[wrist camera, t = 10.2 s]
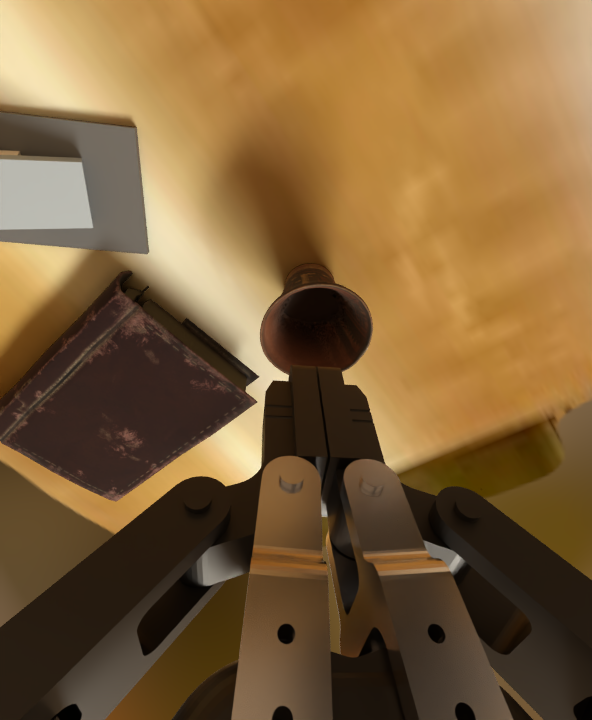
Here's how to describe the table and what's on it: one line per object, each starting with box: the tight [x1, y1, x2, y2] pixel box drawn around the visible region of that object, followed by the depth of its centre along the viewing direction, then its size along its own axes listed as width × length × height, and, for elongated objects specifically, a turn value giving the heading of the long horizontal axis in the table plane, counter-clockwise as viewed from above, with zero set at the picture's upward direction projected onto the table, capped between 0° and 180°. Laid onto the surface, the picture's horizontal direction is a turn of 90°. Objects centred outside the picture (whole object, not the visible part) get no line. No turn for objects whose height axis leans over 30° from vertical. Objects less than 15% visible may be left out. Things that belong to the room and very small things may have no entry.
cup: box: [260, 264, 373, 375], centre depth 36 cm, size 9×9×10 cm
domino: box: [0, 155, 93, 230], centre depth 31 cm, size 5×2×10 cm
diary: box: [0, 271, 259, 501], centre depth 45 cm, size 19×25×5 cm
